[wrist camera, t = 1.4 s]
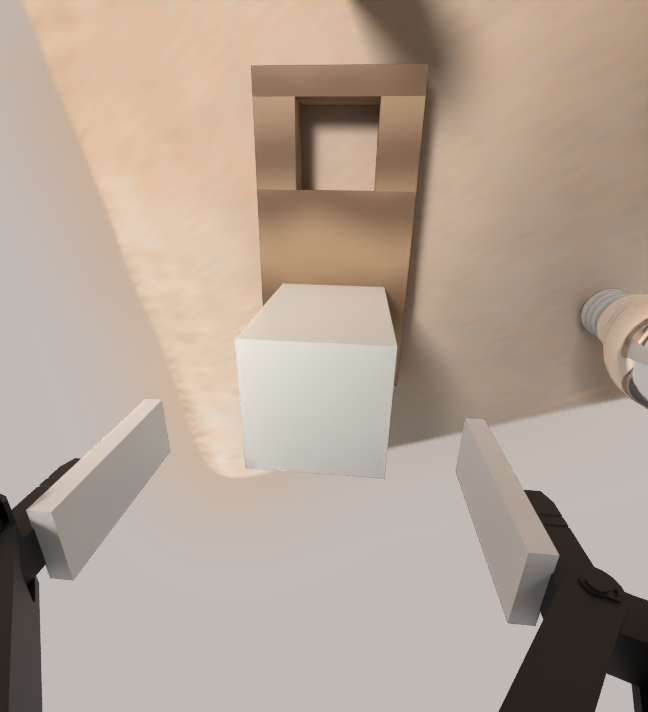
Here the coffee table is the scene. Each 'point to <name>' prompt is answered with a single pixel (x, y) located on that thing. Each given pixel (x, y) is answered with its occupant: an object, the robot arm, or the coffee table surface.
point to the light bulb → (622, 338)
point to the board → (338, 208)
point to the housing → (318, 381)
